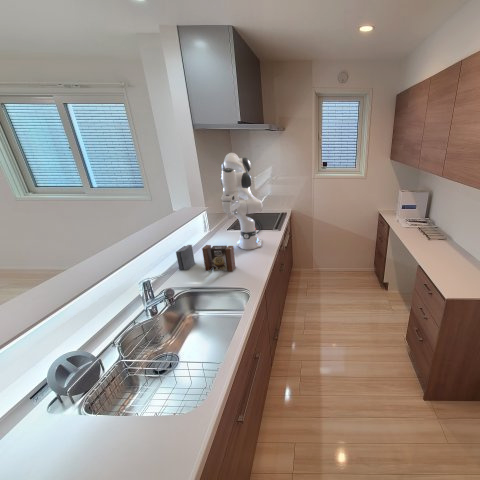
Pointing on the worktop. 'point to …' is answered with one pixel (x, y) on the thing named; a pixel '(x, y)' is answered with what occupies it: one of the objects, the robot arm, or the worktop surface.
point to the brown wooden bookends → (208, 258)
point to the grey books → (185, 257)
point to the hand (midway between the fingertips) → (233, 216)
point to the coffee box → (219, 258)
